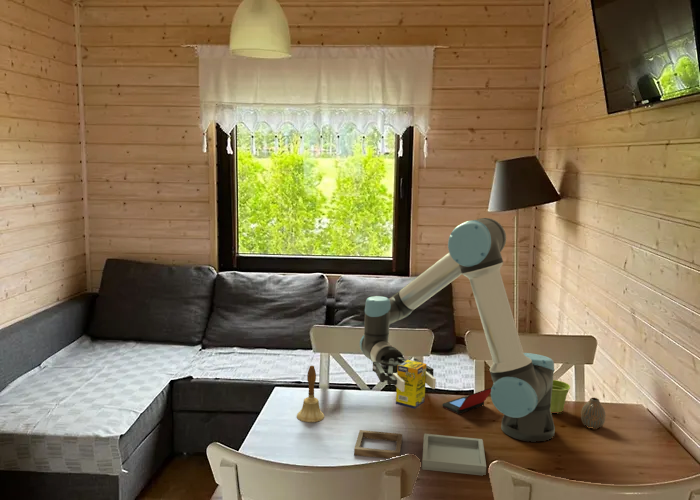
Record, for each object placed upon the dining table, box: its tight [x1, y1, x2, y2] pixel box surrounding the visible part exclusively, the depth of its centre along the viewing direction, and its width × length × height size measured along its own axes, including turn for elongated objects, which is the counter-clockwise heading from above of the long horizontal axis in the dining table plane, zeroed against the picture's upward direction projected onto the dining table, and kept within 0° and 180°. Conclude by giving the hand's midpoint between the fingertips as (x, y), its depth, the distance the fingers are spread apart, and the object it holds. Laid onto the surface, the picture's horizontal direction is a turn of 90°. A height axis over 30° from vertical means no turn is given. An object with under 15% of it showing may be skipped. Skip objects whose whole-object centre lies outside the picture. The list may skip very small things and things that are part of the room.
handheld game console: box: [441, 387, 492, 415], centre depth 211 cm, size 12×11×7 cm
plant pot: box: [550, 379, 571, 412], centre depth 211 cm, size 9×9×9 cm
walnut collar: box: [353, 429, 403, 460], centre depth 181 cm, size 12×12×2 cm
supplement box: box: [395, 359, 428, 410], centre depth 177 cm, size 6×6×11 cm
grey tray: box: [421, 433, 487, 476], centre depth 177 cm, size 16×16×2 cm
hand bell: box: [296, 365, 325, 423], centre depth 198 cm, size 8×8×16 cm
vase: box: [580, 397, 606, 429], centre depth 200 cm, size 7×7×9 cm
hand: (418, 385), depth 173 cm, fingers closed on supplement box, 8 cm apart
